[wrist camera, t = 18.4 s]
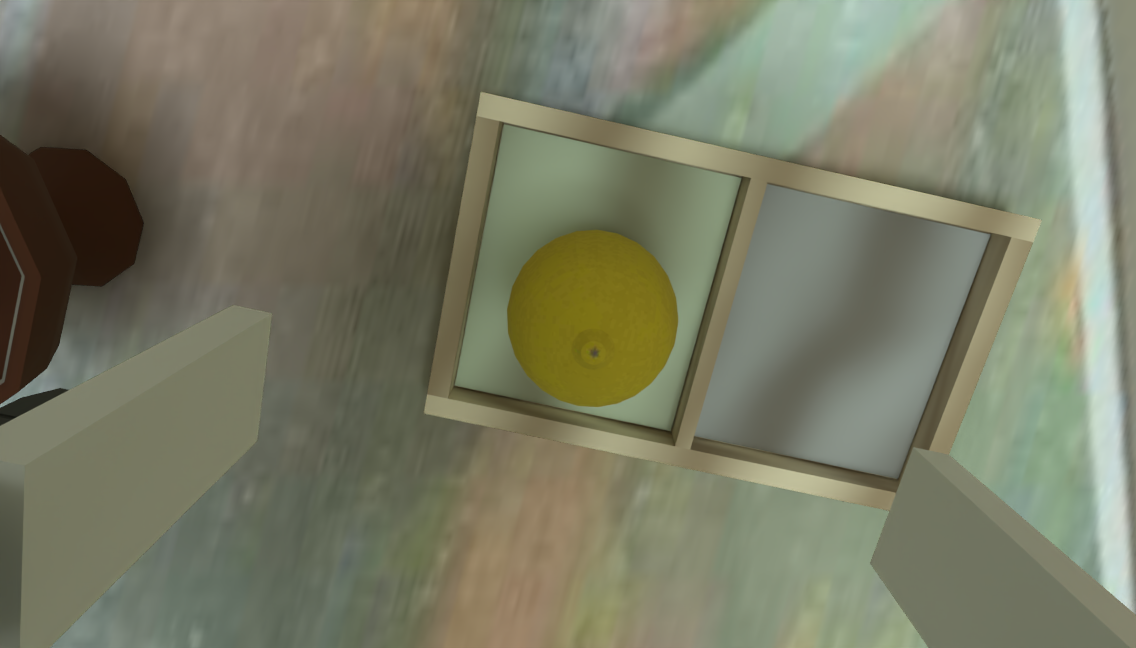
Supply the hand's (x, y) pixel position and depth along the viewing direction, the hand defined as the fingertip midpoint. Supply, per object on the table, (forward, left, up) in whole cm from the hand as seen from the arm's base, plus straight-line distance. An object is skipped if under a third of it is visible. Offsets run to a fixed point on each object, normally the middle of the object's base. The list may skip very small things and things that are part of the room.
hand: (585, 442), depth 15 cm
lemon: (0, 0, -14) cm, 14 cm away
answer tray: (+5, 0, -15) cm, 15 cm away
